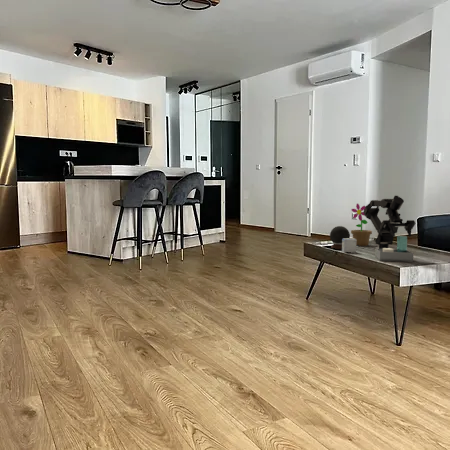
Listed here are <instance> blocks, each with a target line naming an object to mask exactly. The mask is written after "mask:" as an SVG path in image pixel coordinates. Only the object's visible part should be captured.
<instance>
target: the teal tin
mask: <svg viewBox="0 0 450 450" xmlns="http://www.w3.org/2000/svg"><path fill="white" fill-rule="evenodd" d="M396 238H397V239H396V249H397V252H406V253H407V250H408V236H407V235H397V237H396Z"/></svg>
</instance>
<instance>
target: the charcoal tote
mask: <svg viewBox="0 0 450 450" xmlns="http://www.w3.org/2000/svg"><path fill="white" fill-rule="evenodd" d="M393 249H394V252H382V251H383V249H379V248H375V252H374V253H375V255H374V257H375V258H376V259H377V260H378V261H379V262H405V263H408V262H409V263H414V252H413V251H410V250H409V249H407V253H406V252H397V248H393Z"/></svg>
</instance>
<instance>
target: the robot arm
mask: <svg viewBox="0 0 450 450" xmlns="http://www.w3.org/2000/svg"><path fill="white" fill-rule="evenodd" d="M404 201H405V200H404V199H403V198H402V197H401V196H399V195H394V197H393V198H382V199H380V200H378V199H372V200H370V201H369V203H368V204H366V205H365V209H364V210H363V212H364V215H365V216H364V215H363V216H364V217H365V218H366V219H368V220H369V221H370V222H371V223H372V224H373V225H372V226H373V227H374V228H375V230H376V231H377V235H376V236H377V237H376V239H375V244H376V245H378V249H383V248H390V246H389V245H393V242H394V238H395V237H396V235H395V234H397V233H398V230H399V228H402V227H403V228H404V231H406V232H407V235H408V236H409V237H412V230H413V228H414V227H415V225H416V221H415V220H413V219H407V220H406V221H405V222H403V221H404V220H403V218H401V213H399V210H401V207H402V206H403V203H404ZM380 207H381V208H382V209H386V210H385V211H386V212H385V215H386V216H387V217H388V219H386V220H385V219H383V220H382V221H381V220H380V217H379V216H378V215H379V212H380Z"/></svg>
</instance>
